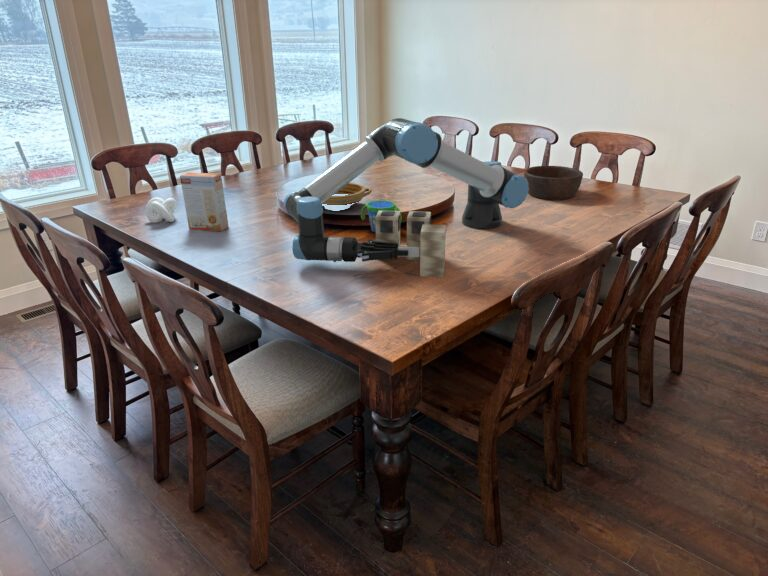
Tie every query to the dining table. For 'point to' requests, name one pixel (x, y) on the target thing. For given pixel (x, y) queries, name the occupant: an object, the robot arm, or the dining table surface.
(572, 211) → the dining table surface
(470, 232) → the dining table surface
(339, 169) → the robot arm
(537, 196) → the wooden bowl
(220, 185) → the cracker box
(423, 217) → the marked block 1
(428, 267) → the plain block
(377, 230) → the marked block 2
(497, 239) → the dining table surface
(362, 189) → the collapsible colander
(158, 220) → the white knot sculpture
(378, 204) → the snack cup
